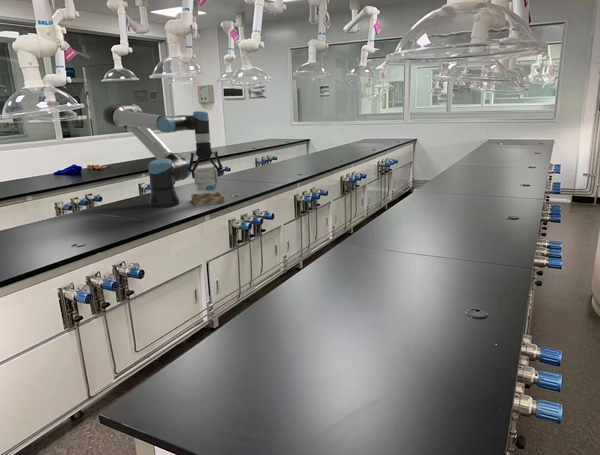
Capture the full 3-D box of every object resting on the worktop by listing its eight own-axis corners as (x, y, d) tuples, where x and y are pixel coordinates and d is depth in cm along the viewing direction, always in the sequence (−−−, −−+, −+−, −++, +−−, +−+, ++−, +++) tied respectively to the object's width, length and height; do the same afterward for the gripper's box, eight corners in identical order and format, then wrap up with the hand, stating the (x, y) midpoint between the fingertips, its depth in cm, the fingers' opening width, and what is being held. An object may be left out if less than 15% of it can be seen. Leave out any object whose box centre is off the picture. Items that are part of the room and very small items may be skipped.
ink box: (217, 187, 243) (215, 166, 240) (212, 190, 235) (211, 168, 232) (201, 187, 244) (199, 166, 240) (196, 190, 236) (194, 168, 232)
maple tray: (194, 205, 233) (194, 199, 232) (191, 200, 245) (191, 194, 244) (224, 202, 237) (224, 196, 237) (220, 197, 250) (219, 191, 249)
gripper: (180, 143, 225) (185, 186, 232) (226, 141, 232) (229, 183, 239) (179, 142, 232) (183, 184, 238) (224, 140, 239) (226, 180, 245)
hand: (206, 183), depth 238 cm, fingers closed on ink box, 11 cm apart
